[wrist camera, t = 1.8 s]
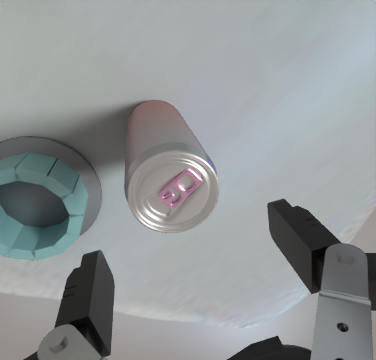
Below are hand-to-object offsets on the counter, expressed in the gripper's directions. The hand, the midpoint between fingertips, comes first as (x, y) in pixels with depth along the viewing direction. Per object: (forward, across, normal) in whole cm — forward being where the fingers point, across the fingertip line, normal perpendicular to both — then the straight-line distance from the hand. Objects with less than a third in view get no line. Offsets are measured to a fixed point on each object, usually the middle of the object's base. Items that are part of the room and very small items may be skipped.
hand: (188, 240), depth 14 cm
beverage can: (+20, 0, 0) cm, 20 cm away
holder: (+19, +14, +4) cm, 24 cm away
